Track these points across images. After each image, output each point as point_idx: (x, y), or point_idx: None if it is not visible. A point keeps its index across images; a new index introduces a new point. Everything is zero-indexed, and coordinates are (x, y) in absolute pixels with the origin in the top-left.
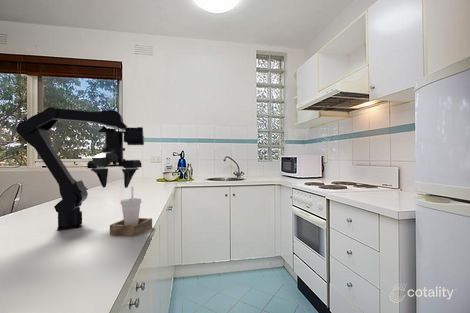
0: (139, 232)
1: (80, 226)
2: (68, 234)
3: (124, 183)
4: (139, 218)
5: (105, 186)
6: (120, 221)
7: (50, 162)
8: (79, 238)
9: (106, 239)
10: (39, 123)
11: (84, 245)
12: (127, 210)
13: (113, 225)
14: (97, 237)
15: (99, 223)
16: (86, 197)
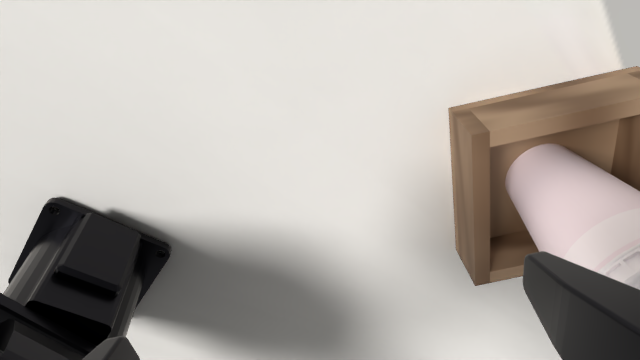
0: None
1: (166, 244)
2: (247, 318)
3: (565, 355)
4: (579, 123)
5: (125, 347)
6: (487, 223)
7: None
8: (355, 323)
9: (488, 288)
10: None
11: (450, 348)
12: None
13: (499, 280)
14: (426, 289)
15: (191, 146)
16: (28, 345)
